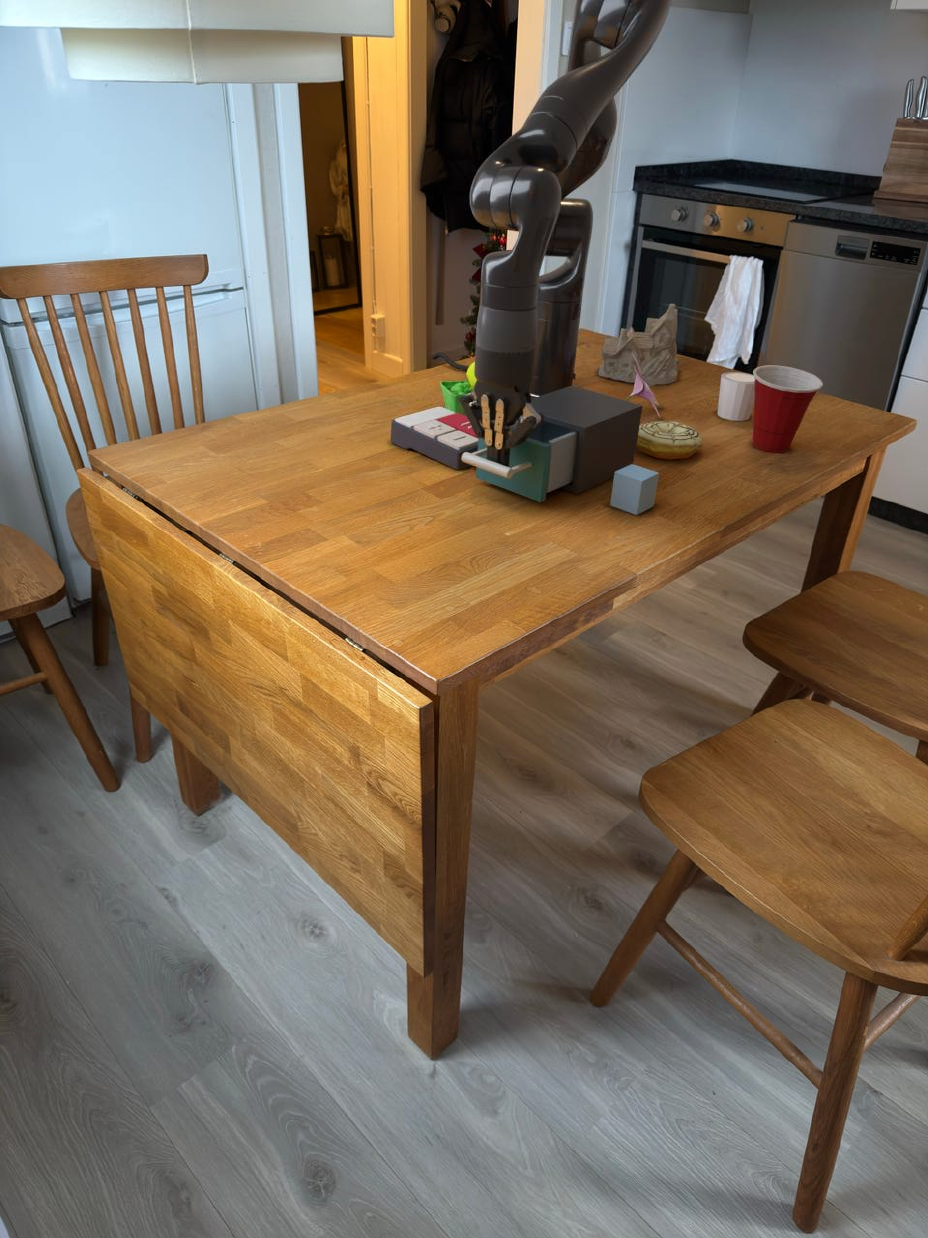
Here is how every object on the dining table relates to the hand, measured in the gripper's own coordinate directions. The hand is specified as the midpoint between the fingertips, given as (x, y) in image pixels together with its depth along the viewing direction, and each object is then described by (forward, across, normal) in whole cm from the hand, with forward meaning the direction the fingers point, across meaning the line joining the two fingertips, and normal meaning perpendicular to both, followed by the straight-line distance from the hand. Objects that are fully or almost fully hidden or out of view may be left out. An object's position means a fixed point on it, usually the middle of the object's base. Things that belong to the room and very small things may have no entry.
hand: (496, 471), depth 121 cm
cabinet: (+4, 0, -18) cm, 19 cm away
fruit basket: (+5, +25, -26) cm, 36 cm away
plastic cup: (+5, -17, -51) cm, 54 cm away
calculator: (+5, +18, -10) cm, 22 cm away
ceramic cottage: (+5, +21, -72) cm, 75 cm away
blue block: (+5, -14, -13) cm, 20 cm away
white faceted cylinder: (+5, -5, -61) cm, 62 cm away
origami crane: (+5, +7, -49) cm, 50 cm away
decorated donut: (+5, -6, -36) cm, 37 cm away
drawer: (+4, 0, -7) cm, 8 cm away
